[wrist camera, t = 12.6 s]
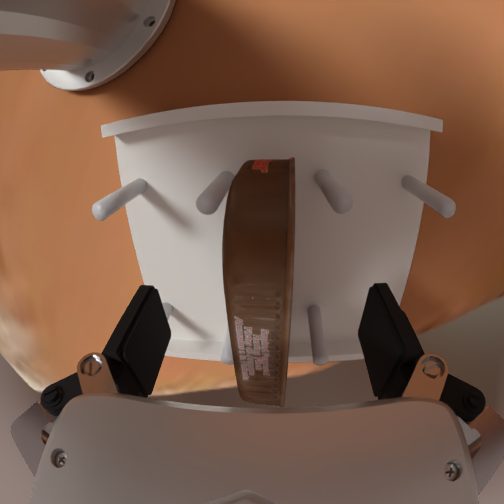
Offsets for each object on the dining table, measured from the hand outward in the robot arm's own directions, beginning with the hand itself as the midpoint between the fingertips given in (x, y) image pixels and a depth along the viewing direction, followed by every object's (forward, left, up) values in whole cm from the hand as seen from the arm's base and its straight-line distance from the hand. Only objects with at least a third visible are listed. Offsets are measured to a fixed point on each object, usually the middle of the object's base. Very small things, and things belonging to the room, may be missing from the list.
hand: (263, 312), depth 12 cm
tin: (+2, 0, -7) cm, 7 cm away
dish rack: (+1, +1, -8) cm, 8 cm away
